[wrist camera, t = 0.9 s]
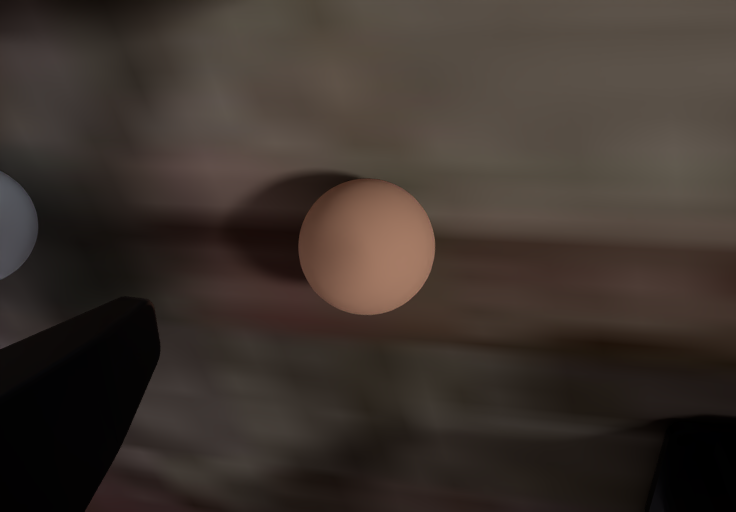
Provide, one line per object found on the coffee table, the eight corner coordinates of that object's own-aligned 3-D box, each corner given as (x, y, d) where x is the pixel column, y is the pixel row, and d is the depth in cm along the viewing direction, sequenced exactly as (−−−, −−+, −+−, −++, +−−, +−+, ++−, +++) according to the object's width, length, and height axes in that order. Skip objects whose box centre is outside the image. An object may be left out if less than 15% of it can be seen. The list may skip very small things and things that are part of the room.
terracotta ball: (437, 274, 22) (428, 347, 18) (319, 267, 22) (289, 337, 19) (441, 160, 20) (431, 219, 16) (311, 155, 20) (275, 211, 17)
